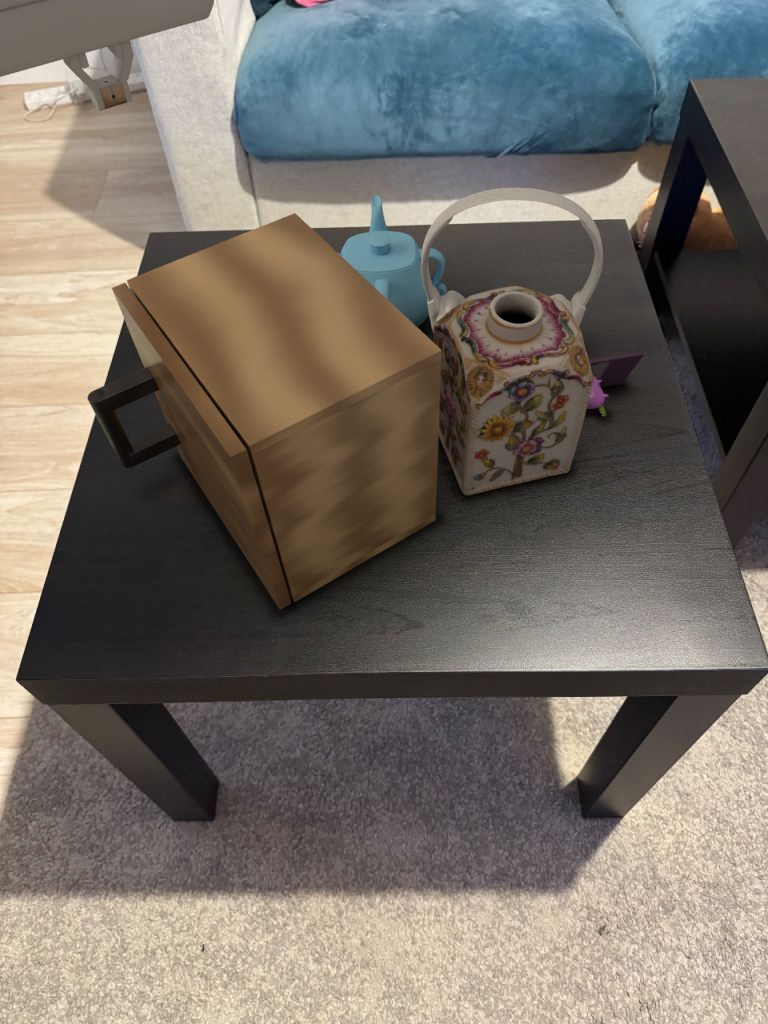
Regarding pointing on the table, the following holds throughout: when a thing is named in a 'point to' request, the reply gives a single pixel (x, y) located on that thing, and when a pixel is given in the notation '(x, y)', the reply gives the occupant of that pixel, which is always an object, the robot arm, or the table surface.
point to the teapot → (393, 265)
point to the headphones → (452, 298)
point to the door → (190, 440)
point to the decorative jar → (510, 388)
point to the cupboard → (309, 391)
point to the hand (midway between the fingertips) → (113, 103)
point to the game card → (611, 376)
